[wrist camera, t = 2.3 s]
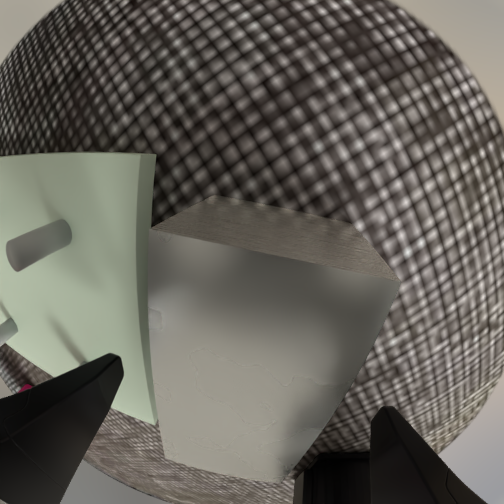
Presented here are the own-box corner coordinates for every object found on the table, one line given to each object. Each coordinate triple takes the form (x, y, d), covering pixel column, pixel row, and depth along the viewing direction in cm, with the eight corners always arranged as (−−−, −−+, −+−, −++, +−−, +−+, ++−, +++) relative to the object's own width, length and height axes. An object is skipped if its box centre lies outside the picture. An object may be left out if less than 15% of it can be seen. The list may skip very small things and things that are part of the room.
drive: (215, 194, 10) (149, 229, 5) (350, 222, 9) (401, 281, 5) (195, 389, 13) (166, 462, 9) (284, 408, 13) (277, 486, 8)
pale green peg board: (156, 154, 9) (81, 158, 5) (161, 411, 14) (137, 461, 10) (-19, 158, 10) (-62, 169, 6) (10, 333, 16) (-18, 357, 12)
